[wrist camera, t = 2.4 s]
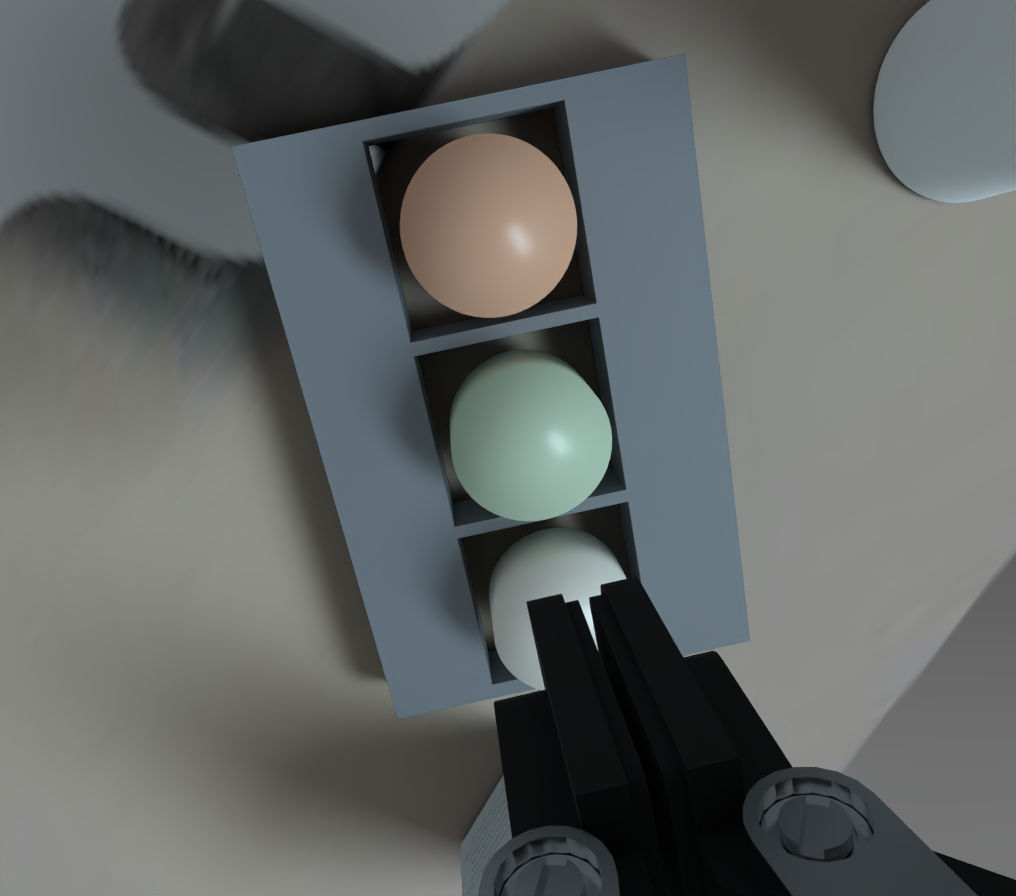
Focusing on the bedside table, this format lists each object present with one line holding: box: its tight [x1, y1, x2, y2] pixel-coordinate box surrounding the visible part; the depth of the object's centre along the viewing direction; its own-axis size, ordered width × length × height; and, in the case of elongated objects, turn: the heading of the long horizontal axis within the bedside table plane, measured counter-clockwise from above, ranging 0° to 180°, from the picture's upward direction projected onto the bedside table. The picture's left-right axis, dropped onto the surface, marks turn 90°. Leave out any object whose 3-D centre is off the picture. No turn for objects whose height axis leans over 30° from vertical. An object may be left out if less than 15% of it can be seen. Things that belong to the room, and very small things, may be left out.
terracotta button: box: [400, 133, 577, 318], centre depth 20 cm, size 4×4×2 cm
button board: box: [231, 54, 750, 719], centre depth 24 cm, size 12×18×2 cm, turn 11°
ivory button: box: [489, 528, 627, 690], centre depth 24 cm, size 4×4×2 cm
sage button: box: [450, 350, 612, 521], centre depth 22 cm, size 4×4×2 cm
